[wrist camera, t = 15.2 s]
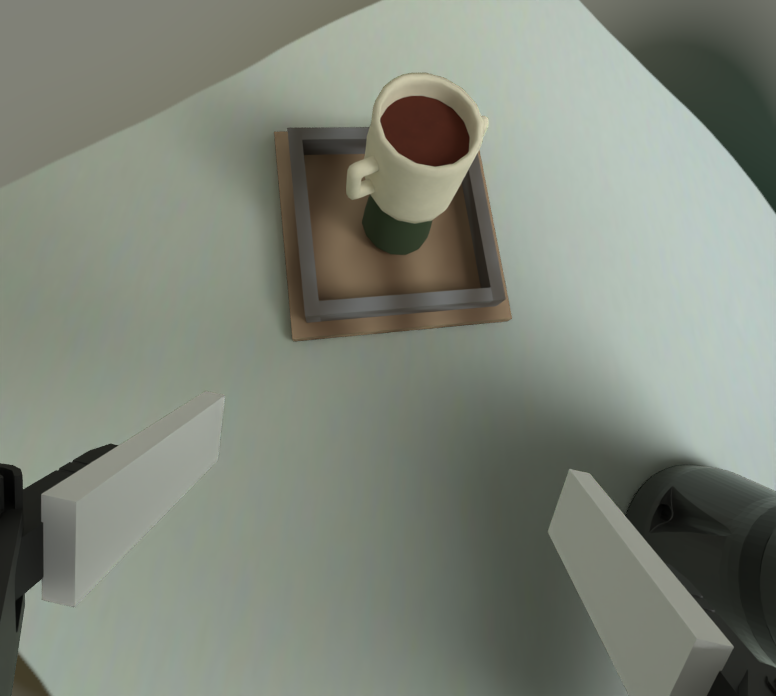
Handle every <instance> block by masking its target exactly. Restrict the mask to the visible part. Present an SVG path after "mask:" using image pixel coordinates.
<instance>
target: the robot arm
mask: <svg viewBox="0 0 776 696" xmlns="http://www.w3.org/2000/svg"><path fill="white" fill-rule="evenodd" d="M224 402H225V395H223V394H218V393H213V392H209V391H204V392H203V393H201V394H200V395H198V396H197V397H195V398H193V399H192V400H190V401H189V402H187V403H185V404H184V405H182V406H181V407H179V408H177V409H176V410H174V411H173V412H171V413H169V414H168V415H166V416H165V417H163V418H162V419H160V420H158V421H157V422H155V423H154V424H152V425H150V426H149V427H147V428H146V429H144V430H142V431H141V432H139V433H138V434H136V435H135V436H133V437H131V438H130V439H128V440H127V441H125V442H123V443H122V444H120V445H119V446H118V445H114V444H108V445H105V446H102V447H99V448H96V449H93V450H90V451H88V452H86V453H85V454H83V455H81V456H79V457H78V458H76V459H74V460H73V462H69V463H68V464H66V465H64V466H62V467H61V468H59V470H58V471H54V472H52V473H51V474H49V475H47V476H45V477H44V478H42V479H40V480H39V481H37V482H35V483H34V484H32V485H30V486H28V487H27V488H25V489H23V479H22V472H21V469H19V468H17V467H15V466H13V465H8V464H1V463H0V696H11V695H12V688H13V681H14V674H15V667H16V661H17V654H18V648H19V641H20V634H21V628H22V621H23V614H24V607H25V593H26V592H27V591H28V590H29V589H30V588H32V587H33V586H34V585H35V584H36V583H37V582H39V581H40V580H41V579H42V600H44V601H48V602H53V603H57V604H62V605H66V606H71V607H75V606H76V605H77V604H78V603H79V602H80V601H81V600H82V599H83V598H84V597H85V596H86V595H87V594H88V593H89V592H90V591H91V590H92V589H93V588H94V587H95V586H96V585H97V584H98V583H99V582H100V581H101V580H102V579H103V578H104V577H105V576H106V575H107V574H108V573H109V572H110V571H111V570H112V569H113V567H114V566H115V565H116V564H117V563H118V562H119V561H120V560H121V559H122V558H123V557H124V556H125V555H126V554H127V553H128V552H129V551H130V550H131V549H132V548H133V547H134V546H135V545H136V544H137V543H138V542H139V541H140V540H141V539H142V538H143V537H144V536H145V535H146V534H147V533H148V532H149V531H150V530H151V528H152V527H153V526H154V525H155V524H156V523H157V522H158V521H159V520H160V519H161V518H162V517H163V516H164V515H165V514H166V513H167V512H168V511H169V510H170V509H171V508H172V507H173V506H174V505H175V504H176V503H177V502H178V501H179V500H180V499H181V498H182V497H183V496H184V495H185V494H186V493H187V492H188V491H189V489H190V488H191V487H192V486H193V485H194V484H195V483H196V482H197V481H198V480H199V479H200V478H201V477H202V476H203V475H204V474H205V473H206V472H207V471H208V470H209V469H210V468H211V467H212V466H213V465H214V464H215V463H216V462H217V461H218V457H219V447H220V438H221V429H222V420H223V411H224ZM548 534H549V536H550V538H551V540H552V542H553V544H554V546H555V548H556V550H557V552H558V554H559V556H560V558H561V560H562V562H563V564H564V566H565V568H566V570H567V572H568V574H569V576H570V578H571V580H572V582H573V584H574V586H575V588H576V590H577V592H578V594H579V596H580V598H581V600H582V602H583V604H584V606H585V608H586V610H587V612H588V614H589V616H590V618H591V620H592V622H593V624H594V626H595V628H596V630H597V632H598V634H599V636H600V638H601V640H602V642H603V644H604V646H605V648H606V650H607V652H608V654H609V656H610V658H611V660H612V662H613V664H614V666H615V668H616V670H617V672H618V674H619V676H620V678H621V680H622V682H623V684H624V686H625V688H626V690H627V692H628V694H629V696H776V491H774V490H772V489H770V488H767V487H765V486H763V485H760V484H758V483H756V482H754V481H751V480H749V479H747V478H745V477H742V476H740V475H738V474H735V473H733V472H730V471H727V470H723V469H719V468H713V467H705V466H695V465H679V466H674V467H670V468H667V469H665V470H662V471H660V472H659V473H657V474H655V475H654V476H652V477H651V478H650V479H649V480H648V481H647V482H646V483H645V484H644V485H643V486H642V487H641V488H640V490H639V491H638V492H637V494H636V495H635V497H634V499H633V501H632V503H631V505H630V507H629V510H628V513H627V516H625V515H624V514H623V513H622V512H621V510H620V509H619V508H618V507H617V506H616V504H615V503H614V502H613V501H612V500H611V498H610V497H609V496H608V495H607V494H606V492H605V491H604V490H603V489H602V488H601V486H600V485H599V484H598V483H597V482H596V480H595V479H594V478H593V477H592V475H591V474H590V473H586V472H581V471H577V470H572V469H569V471H568V474H567V477H566V480H565V483H564V486H563V489H562V491H561V494H560V497H559V500H558V503H557V506H556V509H555V512H554V515H553V518H552V520H551V523H550V526H549V529H548Z"/></svg>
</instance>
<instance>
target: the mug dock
mask: <svg viewBox="0 0 776 696" xmlns="http://www.w3.org/2000/svg"><path fill="white" fill-rule="evenodd" d="M369 128H370V127H342V128H287V131H288V132H274V136H275V147H276V158H277V170H278V181H279V192H280V204H281V215H282V226H283V238H284V249H285V261H286V272H287V283H288V295H289V306H290V317H291V329H292V339H293V342H294V341H304V340H315V339H325V338H336V337H346V336H357V335H367V334H378V333H388V332H399V331H409V330H420V329H430V328H441V327H452V326H462V325H473V324H483V323H494V322H504V321H508V320H510V319H512V316H511V311H510V305H509V300H508V295H507V290H506V285H505V280H504V275H503V269H502V264H501V259H500V254H499V249H498V244H497V238H496V233H495V228H494V223H493V218H492V213H491V208H490V202H489V197H488V192H487V187H486V182H485V177H484V172H483V166H482V161H481V156H480V151H478V153H477V155H476V157H475V158H474V160H473V162H472V164H471V166H470V168H469V170H468V171H467V173H466V175H465V177H464V179H463V181H462V183H461V184H460V186H459V188H458V190H457V192H456V194H455V195H454V197H453V199H452V201H451V203H450V204H449V206H448V208H447V209H446V210H445V211H444V212H442V213H441V214H440V215H438V216H437V217H436V218H434V219H433V220H432V225H431V228H430V232H429V235H428V238H427V239H426V240H425V242H424V243H423V244H422V246H421V247H420V248H419V249H418V250H416V251H414V252H411V253H409V254H407V255H395V254H389V253H387V252H385V251H383V250H381V249H379V248H377V247H376V246H375V245H374V244H373V243H372V242H371V240H370V239H369V238H368V237H367V236H366V234H365V231H364V228H363V225H362V219H363V215H364V210H365V207H366V204H367V200H368V197H369V195H370V194H369V195H366V196H364V197H361V198H359V199H355V200H352V199H350V198H348V196H347V194H346V183H347V170H348V168H349V166H350V165H352V164H353V163H355V162H358V161H360V160H363V159H364V156H365V150H366V141H367V134H368V131H369ZM364 180H366V179H365V177H363V178H362V179H361V182H362V181H364Z"/></svg>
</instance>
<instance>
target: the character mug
mask: <svg viewBox="0 0 776 696" xmlns="http://www.w3.org/2000/svg"><path fill="white" fill-rule="evenodd" d="M488 125H489V122H488V118H487V117H485V116H481V114H480V112H479V109H478V106H477V104H476V103H475V102H474V101H473V100H472V98H471V97H470V96H469V95H468V94H467V93H466V92H465V91H464V90H463V89H462V88H461V87H459V86H457V85H456V84H454V83H452V82H451V81H449V80H447V79H446V78H444V77H440V76H436V75H432V74H429V73H408V74H404V75H401V76H398V77H396V78H394V79H393V80H391V81H390V82H389V83H388V84H386V85H385V86H384V87H383V89H382V90H381V92H380V94H379V95H378V97H377V99H376V101H375V103H374V107H373V113H372V121H371V125H370V128H369V131H368V134H367V141H366V150H365V156H364V159H363V160H360V161H358V162H355V163H353V164H352V165H350V166H349V168H348V170H347V183H346V194H347V196H348V198H350V199H352V200H355V199H359V198H361V197H364V196H366V195H369V194H370V195H369V197H368V200H367V204H366V207H365V210H364V215H363V219H362V225H363V228H364V231H365V234H366V236H367V237H368V238H369V239H370V240H371V242H372V243H373V244H374V245H375V246H376V247H377V248H379V249H381V250H383V251H385V252H387V253H389V254H395V255H407V254H409V253H411V252H414V251H416V250H418V249H419V248H420V247H421V246H422V244H423V243H424V242H425V240H426V239H427V238H428V235H429V232H430V228H431V225H432V220H433V219H434V218H436V217H437V216H438V215H440V214H441V213H442V212H444V211H445V210H446V209H447V208H448V206H449V204H450V203H451V201H452V199H453V197H454V195H455V194H456V192H457V190H458V188H459V186H460V184H461V183H462V181H463V179H464V177H465V175H466V173H467V171H468V170H469V168H470V166H471V164H472V162H473V160H474V158H475V157H476V155H477V153H478V151H479V149H480V147H481V145H482V142H483V136H484V134H485V132H486V131H487V129H488ZM363 177H365V179H366V180H364V181H362V182H361V179H362V178H363Z"/></svg>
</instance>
